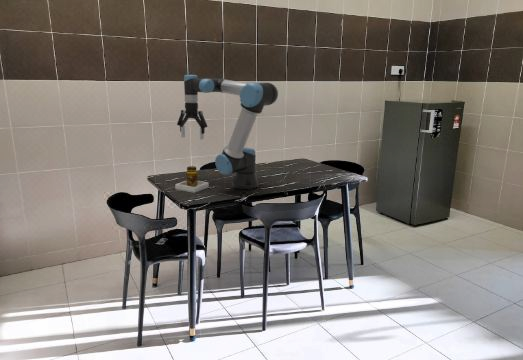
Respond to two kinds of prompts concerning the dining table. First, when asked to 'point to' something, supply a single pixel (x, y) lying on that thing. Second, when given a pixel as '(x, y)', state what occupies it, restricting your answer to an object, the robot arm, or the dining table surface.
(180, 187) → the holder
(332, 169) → the dining table surface
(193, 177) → the condiment
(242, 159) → the robot arm
